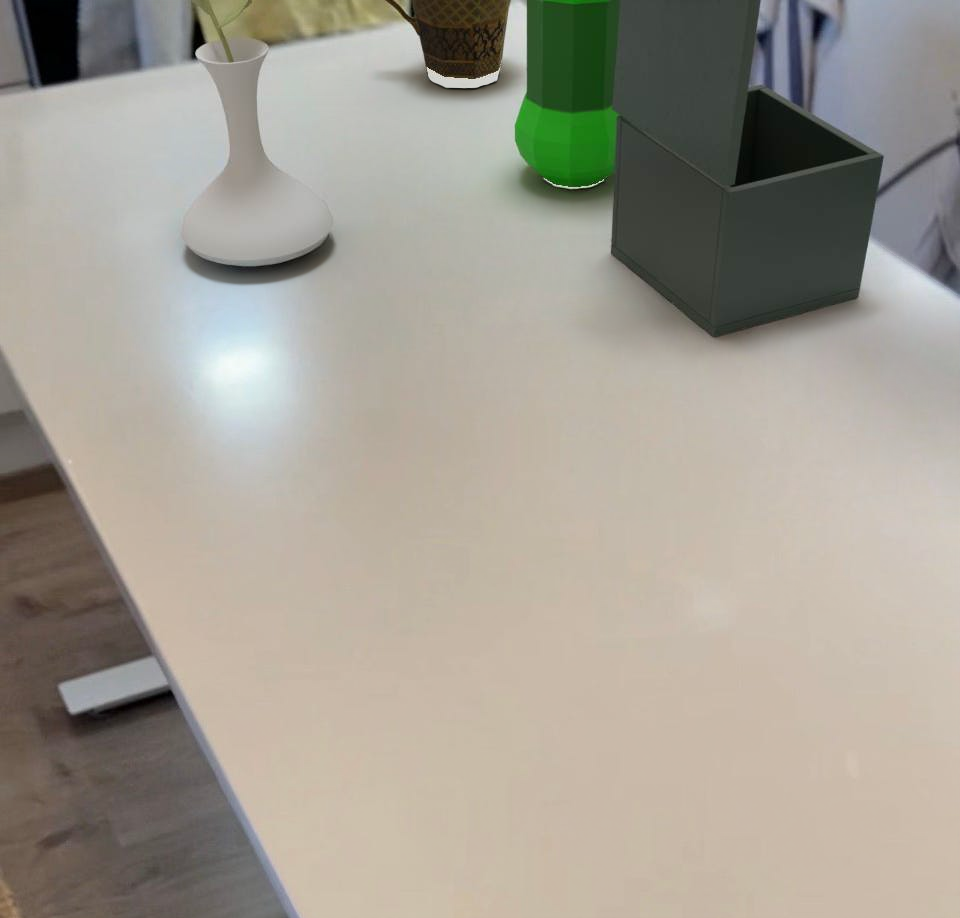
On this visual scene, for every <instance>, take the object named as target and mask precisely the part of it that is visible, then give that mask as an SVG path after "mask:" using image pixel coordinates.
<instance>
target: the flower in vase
mask: <svg viewBox="0 0 960 918" xmlns="http://www.w3.org/2000/svg"><path fill="white" fill-rule="evenodd" d="M188 1H189V2H191V3H193V4H195V5H196V6H197V7H199V8H200V9H201V10H202V11H203V12H204V13H206V14H207V15H209V17H210V19H211V22H212V24H213V25H214V26H213V27H214V28H215V30H216V32H217V34H218V37H219V39H216V40H212V41H208V42H206V43H204V44H202V45H200V46H199V47H198V48H197V49H196V50H195V56H196V57H195V58H197V60H198V61H199V62H200V63H201V64H202V65H203V66H204V68H205V69H206V71H207V72H208V73H209V75H210V76H211V78H212V80H213V82H214V85H215V87H216V89H217V93H218V95H219V98H220V101H221V105H222V109H223V112H224V116H225V122H226V127H227V132H228V133H227V134H228V143H229V153H228V154H229V155H228V159H227V163H226V165H225V166H224V168H223V170H222V171H221V172H220V173H219V174H218V175H217V176H216V178H215V179H213V181H211V182H210V183H209V184H208V185H207V186H206V187H205V188H204V190H202V191H201V193H199V194H198V196H197V197H196V198H195V199H194V200H193V201H192V203H191V205H190V206H189V207H188V209H187V210H186V212H185V213H184V215H183V218H182V223H181V227H180V228H181V229H180V235H181V239H182V240H183V242H184V243H185V245H187V246H188V248H189V249H190V250H191V251H192V252H193V253H194V254H196V255H197V256H199V257H201V258H203V259H205V260H207V261H210V262H214V263H217V264H222V265H227V266H228V265H229V266H237V267H261V266H269V265H275V264H280V263H284V262H287V261H291V260H294V259H297V258H299V257H301V256H304V255H306V254H309V253H310V252H312V251H314V250H315V249H317V248H318V247H320V246H321V245H322V244H323V243H324V242H325V240H326V239H327V238H328V236H329V235H330V232H331V230H332V228H333V225H334V216H333V215H332V212H331V210H330V208H329V206H328V204H327V203H326V201H325V200H324V199H323V198H322V197H321V196H320V195H319V194H317V193H316V192H315V191H314V190H313V189H312V188H310V187H309V186H307V185H306V184H305V183H303V182H302V181H300V180H298V178H295V177H294V176H292V175H290V174H288V173H287V172H285V171H284V170H282V169H281V168H279V167H278V166H276V165H275V164H274V163H273V162H272V161H271V160H270V159H269V157H268V155H267V154H266V152H265V148H264V146H263V143H262V138H261V132H260V126H259V116H258V114H259V113H258V84H259V77H260V72H261V70H262V69H261V68H262V65H263V63H264V62H265V59H266V57H267V56H268V53H269V50H270V48H269V45H268V44H267V43H266V42H265V41H262V40H260V39H257V38H250V37H227V38H226V36H225V34H224V32H223V30H222V27H225V26H226V25H228V24H230V23H231V22H233V21H234V20H236V19H237V18H238V17H239V16H240V15H241V14H242V13H243V11H244V10H245V9H247V8H249V7H250V6H251V5H252V4H253V0H247V1H246V3H245V4H243V5H241V6H239V7H237V8H236V9H234V10H233V11H230V13H228V14H227V15H226V16H225V17H224V18H223V20H222V21H220V23H219V20H218V18H217V16H216V14H215V12H214V10H213V7H212V5H211V2H210V0H188Z"/></svg>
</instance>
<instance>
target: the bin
mask: <svg viewBox="0 0 960 918" xmlns="http://www.w3.org/2000/svg"><path fill="white" fill-rule="evenodd" d="M884 158H885V155H883V154H882V153H880V152H879V151H877V150H875V149H873V148H872V147H870V146H868V145H866V144H865V143H863V142H861V141H859V140H857V139H856V138H854V137H853V136H851V135H849V134H847V133H846V132H844V131H842V130H840V129H839V128H837V127H835V126H834V125H832V124H831V123H829V122H827V121H826V120H824V119H822V118H820V117H818V116H816V115H815V114H814V113H812V112H810V111H808V110H807V109H804V108H803V107H802V106H799V105H798V104H796V103H794V102H793V101H791V100H789V99H788V98H786V97H784V96H782V95H780V94H779V93H777V92H775V91H773V90H772V89H770V88H769V87H767V86H765V85H764V84H757V85H752V86H749V87H748V94H747V101H746V108H745V115H744V122H743V129H742V136H741V143H740V150H739V157H738V164H737V171H736V179H735V184H734V185H730V186H723V185H722V184H720V183H719V182H717V181H716V180H714V179H713V178H711V177H710V176H708V175H707V174H705V173H704V172H703V171H701V170H700V169H698V168H697V167H695V166H694V165H692V164H691V163H689V162H688V161H686V160H685V159H684V158H682V157H681V156H679V155H678V154H676V153H675V152H673V151H672V150H670V149H669V148H667V147H666V146H665V145H663V144H662V143H660V142H659V141H657V140H656V139H654V138H653V137H651V136H650V135H649V134H647V133H646V132H644V131H643V130H641V129H640V128H638V127H637V126H635V125H634V124H632V123H631V122H630V121H628V120H627V119H625V118H624V117H622V116H621V115H620V116H617V124H616V147H615V170H614V173H613V195H612V216H611V217H612V218H611V219H612V220H611V239H610V240H611V243H610V254H611V255H613V256H614V257H615V258H617V259H618V260H619V261H621V263H622V264H624V265H625V266H626V267H628V268H629V269H630V270H631V271H632V272H634V273H635V274H636V275H637V276H639V277H640V278H641V279H642V280H644V281H645V282H646V283H647V284H648V285H650V287H652V288H653V289H654V290H656V291H657V292H658V293H659V294H661V295H662V296H663V297H664V298H665V299H667V300H668V301H669V302H670V303H671V304H673V305H674V306H675V307H677V308H678V309H679V310H680V311H681V312H683V313H684V314H685V315H687V316H688V317H689V318H690V319H691V320H692V321H693V322H695V323H696V324H698V325H699V326H700V327H701V328H702V329H703V330H704V331H706V332H707V333H709V335H711V336H712V337H714V338H715V337H716V338H717V337H719V336H723V335H727V334H730V333H733V332H737V331H741V330H745V329H748V328H753V327H756V326H760V325H764V324H767V323H771V322H774V321H778V320H781V319H784V318H788V317H792V316H796V315H799V314H804V313H807V312H810V311H813V310H817V309H822V308H825V307H828V306H833V305H836V304H839V303H843V302H847V301H851V300H854V299H858V298H859V297H860V291H861V285H862V279H863V275H864V270H865V269H864V268H865V264H866V257H867V253H868V247H869V241H870V235H871V230H872V225H873V219H874V214H875V209H876V201H877V197H878V191H879V186H880V182H881V175H882V169H883V164H884ZM857 297H858V298H857Z"/></svg>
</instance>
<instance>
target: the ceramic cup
mask: <svg viewBox="0 0 960 918" xmlns="http://www.w3.org/2000/svg"><path fill="white" fill-rule="evenodd" d="M384 1H385V2H387V3H388V4H389V5H390V6H392V7H393V8H394V10H396V11H397V12H398V13H399V14H400V15H401V17H402V18H403V20H405V21H406V22H408V23H409V24H410V25H411V26H412V28H413V30H414V31H415V34H417V36H418V37H419V42H420V46H421V50H422V54H423V60H424V65H425V68H426V67H428V68H429V69H431V70H433V71H435V72H436V73H438V74H440V75H442V76H444V77H454V78H468V79H476V78H480V77H483V76H486V75H488V74H491V73H494V72H496V71H498V70H499V68H500V64H501V65H502V63H501V61H502V62H503V57H504V48H505V47H504V46H505V40H506V32H507V25H508V17H509V11H510V6H511V2H512V0H411V2H412V8H413V13H414V17H412V16H410V15H409V14H407V13H406V12H405V10H404V9H403V8H402V6H401V5H400V4H399V3H397V1H395V0H384Z"/></svg>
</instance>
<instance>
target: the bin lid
mask: <svg viewBox="0 0 960 918" xmlns="http://www.w3.org/2000/svg"><path fill="white" fill-rule="evenodd" d="M761 2H762V0H620V13H619V26H618V39H617V52H616V65H615V78H614V91H613V104H612V110H613V111H615V112H616V113H618V114H619V115H621V116H622V117H624V118H625V119H627V120H628V121H630V122H631V123H632V124H634V125H635V126H637V127H638V128H640V129H641V130H643V131H644V132H646V133H647V134H649V135H650V136H651V137H653V138H654V139H656V140H657V141H659V142H660V143H662V144H663V145H665V146H666V147H667V148H669V149H670V150H672V151H673V152H675V153H676V154H678V155H679V156H681V157H682V158H684V159H685V160H686V161H688V162H689V163H691V164H692V165H694V166H695V167H697V168H698V169H700V170H701V171H703V172H704V173H705V174H707V175H708V176H710V177H711V178H713V179H714V180H716V181H717V182H719V183H720V184H722V185H723V186H730V185H734V184H735V179H736V171H737V164H738V157H739V150H740V143H741V136H742V129H743V122H744V115H745V108H746V101H747V94H748V87H750V80H751V73H752V72H751V71H752V65H753V59H754V58H753V57H754V52H755V51H754V50H755V43H756V36H757V31H758V23H759V16H760V9H761Z"/></svg>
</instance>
